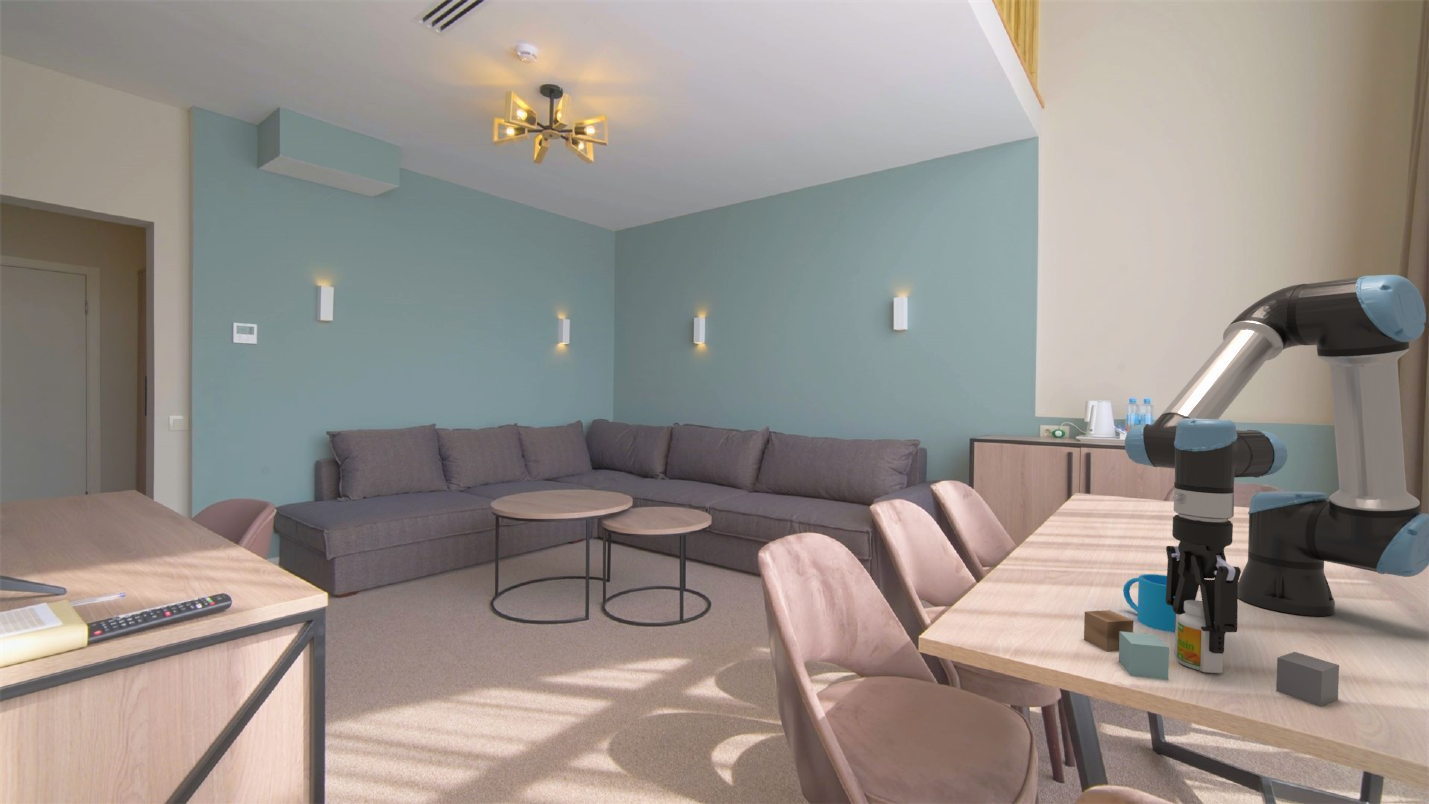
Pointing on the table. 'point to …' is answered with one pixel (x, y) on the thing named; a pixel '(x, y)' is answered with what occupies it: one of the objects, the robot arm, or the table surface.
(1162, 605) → the mug
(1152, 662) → the teal cube
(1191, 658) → the supplement bottle
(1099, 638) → the walnut cube
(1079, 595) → the table surface
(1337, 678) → the charcoal cube
